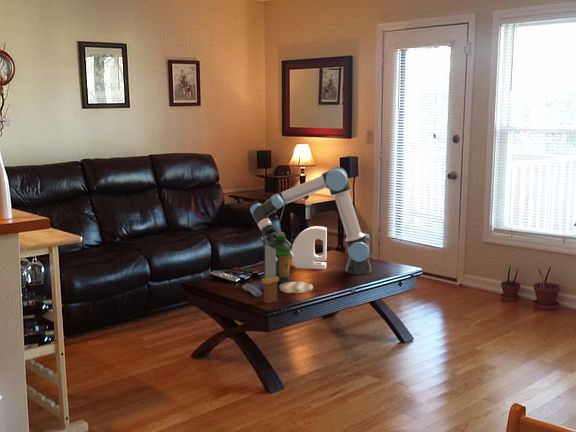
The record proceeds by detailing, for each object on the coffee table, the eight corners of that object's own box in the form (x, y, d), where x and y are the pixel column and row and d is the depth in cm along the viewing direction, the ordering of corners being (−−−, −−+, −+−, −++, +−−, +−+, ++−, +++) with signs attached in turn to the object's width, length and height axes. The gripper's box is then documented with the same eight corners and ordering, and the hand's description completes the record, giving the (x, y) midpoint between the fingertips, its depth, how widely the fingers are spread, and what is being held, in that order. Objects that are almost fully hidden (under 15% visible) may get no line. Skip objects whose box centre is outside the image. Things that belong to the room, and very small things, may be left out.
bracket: (325, 269, 397) (326, 228, 393) (291, 267, 400) (291, 227, 396) (326, 266, 404) (327, 226, 400) (292, 265, 406) (293, 225, 402)
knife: (267, 304, 329) (266, 245, 324) (261, 302, 331) (261, 244, 326) (278, 300, 335) (278, 242, 330) (273, 298, 337) (273, 241, 332)
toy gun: (279, 295, 346) (253, 299, 339) (264, 286, 362) (239, 289, 355) (279, 288, 345) (253, 291, 338) (264, 279, 361) (239, 282, 354)
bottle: (288, 284, 364) (288, 234, 359) (269, 283, 366) (269, 234, 361) (292, 279, 374) (292, 231, 369) (274, 278, 376) (274, 230, 371)
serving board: (312, 284, 364) (312, 281, 364) (313, 293, 347) (313, 290, 346) (279, 284, 364) (279, 281, 364) (279, 293, 346) (279, 290, 346)
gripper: (279, 229, 385) (297, 259, 376) (247, 234, 369) (265, 266, 361) (285, 221, 380) (303, 252, 371) (253, 226, 365) (271, 258, 356)
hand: (284, 259), depth 366 cm, fingers open, 11 cm apart
